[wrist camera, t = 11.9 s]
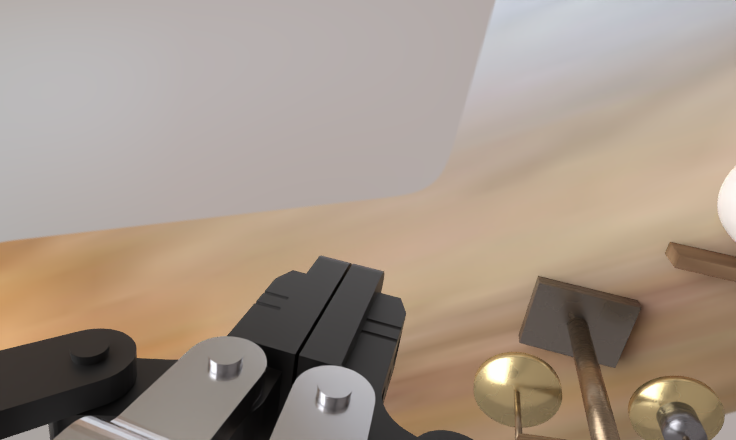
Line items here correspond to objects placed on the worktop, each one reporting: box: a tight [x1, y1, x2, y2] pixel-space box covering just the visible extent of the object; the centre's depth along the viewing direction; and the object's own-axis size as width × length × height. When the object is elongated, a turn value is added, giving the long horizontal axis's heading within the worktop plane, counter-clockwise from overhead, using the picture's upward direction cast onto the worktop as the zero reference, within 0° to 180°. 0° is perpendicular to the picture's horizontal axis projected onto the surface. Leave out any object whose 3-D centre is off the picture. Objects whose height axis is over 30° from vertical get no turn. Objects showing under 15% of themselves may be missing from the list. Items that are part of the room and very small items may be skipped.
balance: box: [474, 276, 725, 440], centre depth 37 cm, size 6×16×17 cm, turn 81°
